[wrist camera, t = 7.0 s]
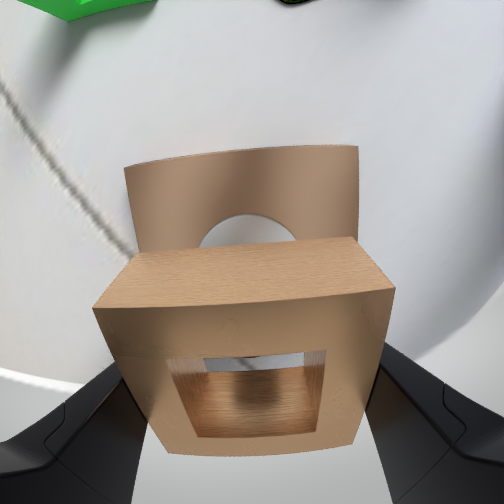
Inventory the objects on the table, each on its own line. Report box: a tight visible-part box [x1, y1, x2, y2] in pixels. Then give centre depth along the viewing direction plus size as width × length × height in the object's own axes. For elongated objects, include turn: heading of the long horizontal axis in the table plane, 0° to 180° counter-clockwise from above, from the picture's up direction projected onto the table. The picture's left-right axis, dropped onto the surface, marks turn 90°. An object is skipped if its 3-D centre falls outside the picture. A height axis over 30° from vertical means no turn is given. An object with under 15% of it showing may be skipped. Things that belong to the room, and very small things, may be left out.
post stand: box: [124, 145, 359, 358], centre depth 12 cm, size 11×11×7 cm
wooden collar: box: [92, 236, 396, 456], centre depth 8 cm, size 6×6×3 cm
